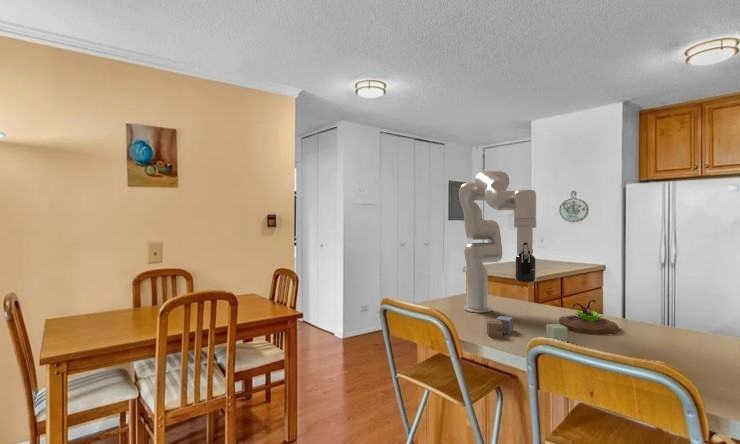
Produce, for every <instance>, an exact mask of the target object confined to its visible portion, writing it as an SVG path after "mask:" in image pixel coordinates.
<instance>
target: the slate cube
mask: <svg viewBox="0 0 740 444" xmlns="http://www.w3.org/2000/svg"><path fill="white" fill-rule="evenodd" d="M495 320H501V322H502V324H503V334H509V335H510V334H511V333H512V332H513V331H514V317H511V316H510V317H509V316H502V315H499V316H497V317H496V318H495Z"/></svg>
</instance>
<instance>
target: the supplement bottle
mask: <svg viewBox="0 0 740 444" xmlns="http://www.w3.org/2000/svg"><path fill="white" fill-rule="evenodd" d="M533 250H534V249H533V248H532V254H531V255H530V263H531V273H530V274H521V263H522V256H521V254H519V255H518V254H517V255H516V256H515V273H514V274H515V281H517V282H522V283H534V282H535V281H536V265H537V261H536V260H537V259H536V257H535V256H534V255H533V253H534V252H533ZM523 254H524V253H523Z"/></svg>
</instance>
